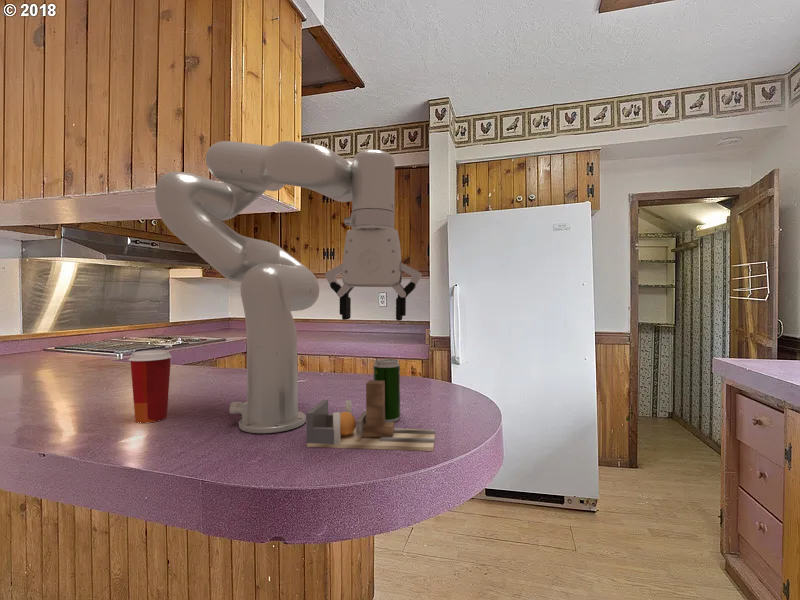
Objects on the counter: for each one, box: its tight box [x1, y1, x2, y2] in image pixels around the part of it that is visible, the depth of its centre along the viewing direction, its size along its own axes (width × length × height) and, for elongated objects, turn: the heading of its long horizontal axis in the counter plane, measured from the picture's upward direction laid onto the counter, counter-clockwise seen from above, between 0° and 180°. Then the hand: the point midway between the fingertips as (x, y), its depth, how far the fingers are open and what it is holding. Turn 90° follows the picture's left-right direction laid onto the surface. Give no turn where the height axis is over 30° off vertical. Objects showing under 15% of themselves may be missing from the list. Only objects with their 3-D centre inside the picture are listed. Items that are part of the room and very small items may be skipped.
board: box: [306, 427, 436, 452], centre depth 71 cm, size 21×9×1 cm, turn 83°
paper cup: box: [127, 349, 173, 424], centre depth 84 cm, size 8×8×14 cm
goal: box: [305, 399, 353, 444], centre depth 72 cm, size 6×9×5 cm, turn 173°
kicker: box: [356, 379, 395, 437], centre depth 71 cm, size 6×6×9 cm
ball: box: [340, 411, 357, 436], centre depth 71 cm, size 4×4×4 cm
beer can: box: [372, 358, 401, 423], centre depth 83 cm, size 5×5×12 cm
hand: (372, 319), depth 72 cm, fingers open, 9 cm apart
